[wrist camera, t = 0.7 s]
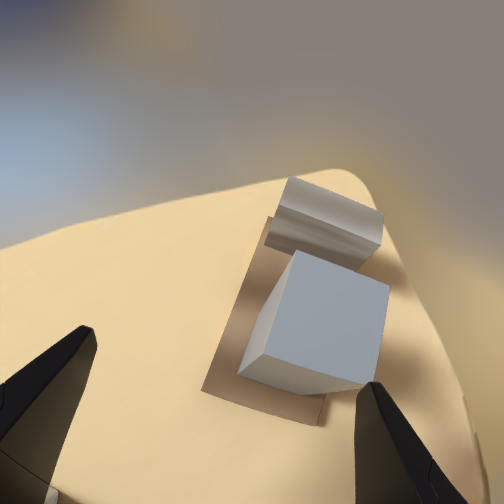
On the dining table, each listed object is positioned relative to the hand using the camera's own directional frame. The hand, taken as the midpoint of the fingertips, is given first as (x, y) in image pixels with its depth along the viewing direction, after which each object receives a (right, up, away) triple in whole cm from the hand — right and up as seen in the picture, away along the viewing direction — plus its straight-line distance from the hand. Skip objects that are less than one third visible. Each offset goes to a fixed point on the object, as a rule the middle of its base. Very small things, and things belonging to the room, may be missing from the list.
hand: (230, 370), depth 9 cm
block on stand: (+4, -2, +16) cm, 17 cm away
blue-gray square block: (+4, -4, +14) cm, 15 cm away
